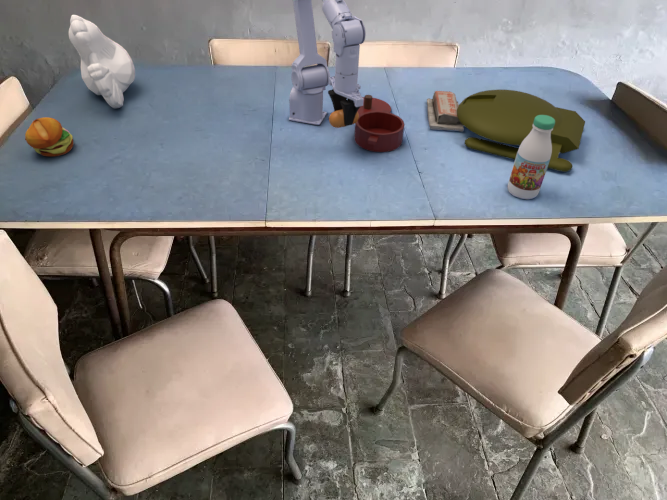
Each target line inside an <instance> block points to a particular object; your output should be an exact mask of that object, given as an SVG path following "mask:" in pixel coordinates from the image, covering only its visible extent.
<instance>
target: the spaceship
mask: <svg viewBox="0 0 667 500" xmlns="http://www.w3.org/2000/svg"><path fill="white" fill-rule="evenodd" d="M458 104H459V106H458V108H457V116H458V119H459V121H460V122H461V123H462V124H463V127H464V128H466V129H468V130H469V131H470V132H472V133H474V134H475V135H477V136H480V137H482V138H480V137H476V136H469V137H467V138H466V139H464V145H465V146H466V147H467V149H470V150H474V151H478V152H480V153H481V152H482V153H486V154H490V155H494V156H498V157H502V158H506V159H509V160H514V161H515V158H516V155H517V152H518V149H519V147H516V146H520V145H521V143H522V141H523V140H524V139H525V138H526V137H527V136H528V134H529V133H530V132H531V130H532V129H533V122H534V119H535V117H536V116H538V115H547V116H550V117H552V118H554V119H555V125H554V127H553V130H552V131H551V144H552V153H551V158H550V161H549V164H548V167H547V169H549V170H553V171H556V172H563V173H565V172H566V173H567V172H569V171H571V170H573V163H572V162H571V161H570V160H568V159H566V158H562V157H559V155H560V154H565V153H569V152H572V151H576V150H579V148H580V145H581V141H582V137H583V132H584V130H585V125H586V120H584V119H583V118H582V117H581V115H580V114H579V113H578V112H577V111H575V110H571V109H566V108H562V107H558V106H555V105H554V104H552V103H550V102H549V101H547V100H546V99H544V98H541V97H539V96H537V95H534V94H531V93H529V92H528V93H527V92H525V91H520V90H519V91H518V90H514V89H486V90H482V91H478V92H475V93H473V94H470V95H468V96H466V97H465V98H464V99H462V101H461V102H460V103H458Z"/></svg>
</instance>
